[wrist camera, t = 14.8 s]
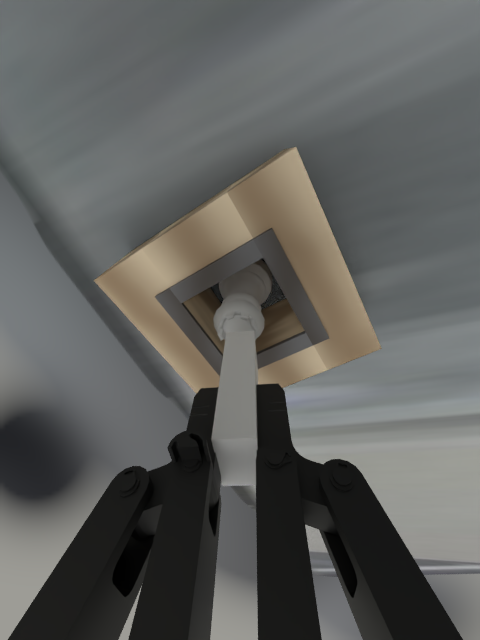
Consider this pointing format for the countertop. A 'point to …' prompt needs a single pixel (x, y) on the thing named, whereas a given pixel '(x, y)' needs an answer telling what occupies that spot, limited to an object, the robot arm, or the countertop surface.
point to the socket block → (234, 255)
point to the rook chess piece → (243, 300)
